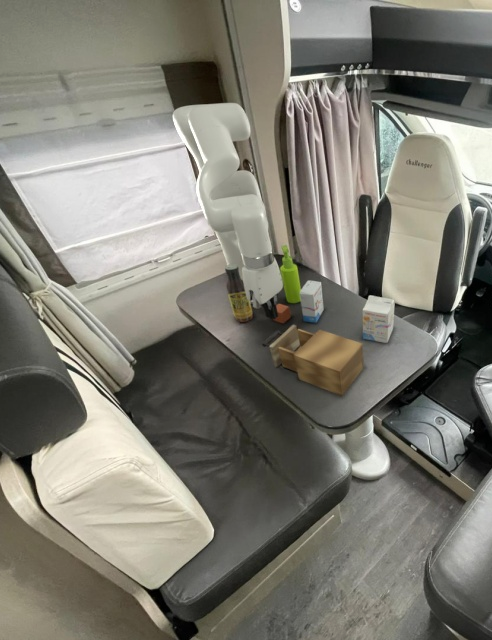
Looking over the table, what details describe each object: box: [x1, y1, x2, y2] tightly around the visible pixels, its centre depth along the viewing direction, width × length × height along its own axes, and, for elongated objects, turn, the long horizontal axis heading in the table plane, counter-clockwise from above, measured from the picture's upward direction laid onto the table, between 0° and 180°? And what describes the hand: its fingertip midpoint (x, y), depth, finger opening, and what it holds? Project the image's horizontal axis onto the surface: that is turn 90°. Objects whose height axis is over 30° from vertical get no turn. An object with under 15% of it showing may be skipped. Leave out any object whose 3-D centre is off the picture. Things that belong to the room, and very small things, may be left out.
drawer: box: [261, 324, 315, 373], centre depth 108 cm, size 19×11×8 cm, turn 64°
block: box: [272, 303, 292, 325], centre depth 126 cm, size 4×4×4 cm
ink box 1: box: [300, 280, 325, 324], centre depth 125 cm, size 9×5×12 cm, turn 168°
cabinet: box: [294, 329, 364, 397], centre depth 104 cm, size 15×13×10 cm
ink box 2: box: [362, 294, 396, 344], centre depth 117 cm, size 9×8×13 cm
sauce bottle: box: [224, 264, 254, 323], centre depth 121 cm, size 7×6×20 cm
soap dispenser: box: [279, 244, 302, 304], centre depth 130 cm, size 6×7×20 cm
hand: (272, 316), depth 103 cm, fingers closed
